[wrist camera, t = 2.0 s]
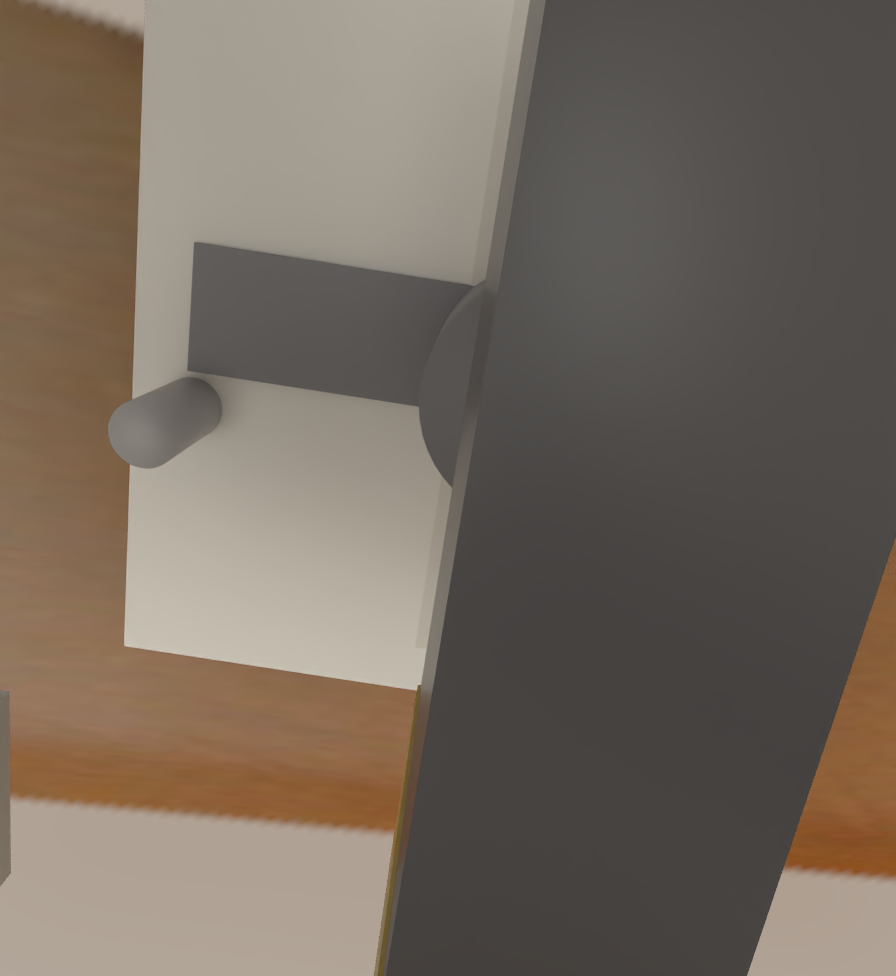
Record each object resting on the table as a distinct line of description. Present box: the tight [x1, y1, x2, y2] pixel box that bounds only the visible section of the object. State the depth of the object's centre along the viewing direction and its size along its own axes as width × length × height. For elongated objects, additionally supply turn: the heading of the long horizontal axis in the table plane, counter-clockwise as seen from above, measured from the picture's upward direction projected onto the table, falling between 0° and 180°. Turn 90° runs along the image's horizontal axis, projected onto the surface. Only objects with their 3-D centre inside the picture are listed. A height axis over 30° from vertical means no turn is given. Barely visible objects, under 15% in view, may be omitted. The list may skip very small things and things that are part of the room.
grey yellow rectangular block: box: [374, 0, 896, 976], centre depth 10 cm, size 14×3×9 cm, turn 171°
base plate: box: [108, 0, 530, 691], centre depth 18 cm, size 20×20×8 cm
